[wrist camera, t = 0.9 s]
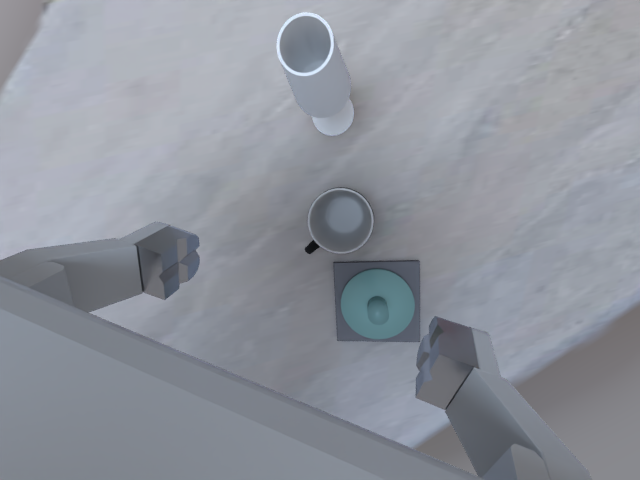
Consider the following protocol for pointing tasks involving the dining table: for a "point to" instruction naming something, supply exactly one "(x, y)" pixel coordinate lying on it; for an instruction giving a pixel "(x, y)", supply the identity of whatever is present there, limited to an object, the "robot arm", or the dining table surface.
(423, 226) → the dining table surface
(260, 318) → the dining table surface
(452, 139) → the dining table surface
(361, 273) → the lid
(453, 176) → the dining table surface
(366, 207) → the mug
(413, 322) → the mat
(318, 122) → the champagne flute
